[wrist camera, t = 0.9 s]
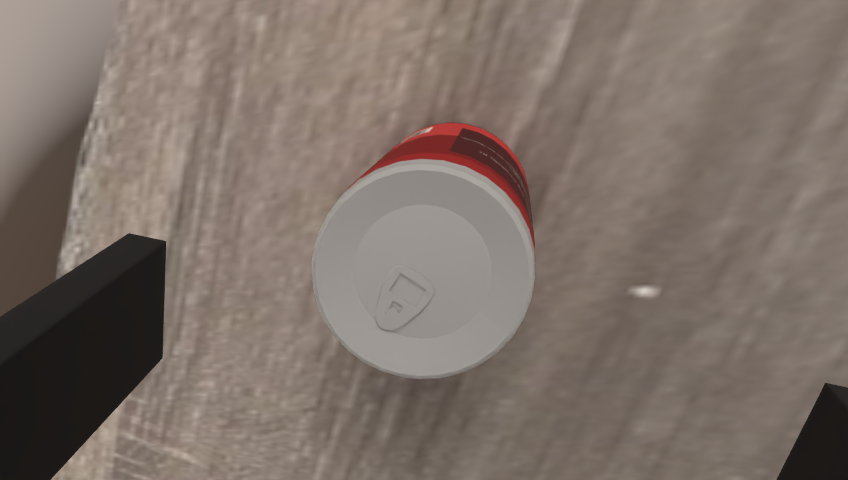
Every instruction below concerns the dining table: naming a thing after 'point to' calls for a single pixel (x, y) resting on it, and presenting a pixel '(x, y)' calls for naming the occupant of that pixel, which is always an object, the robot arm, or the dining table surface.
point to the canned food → (429, 255)
